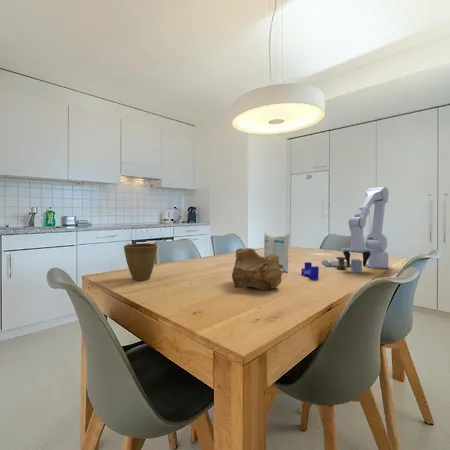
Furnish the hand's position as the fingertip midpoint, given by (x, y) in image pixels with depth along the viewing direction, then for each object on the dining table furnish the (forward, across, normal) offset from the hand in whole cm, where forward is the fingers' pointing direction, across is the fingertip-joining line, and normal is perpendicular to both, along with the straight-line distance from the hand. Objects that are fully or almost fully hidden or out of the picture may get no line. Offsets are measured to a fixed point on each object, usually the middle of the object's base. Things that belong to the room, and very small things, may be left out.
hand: (356, 266), depth 145 cm
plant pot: (+3, -103, -32) cm, 108 cm away
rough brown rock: (+3, -52, -37) cm, 64 cm away
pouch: (+3, -41, -1) cm, 41 cm away
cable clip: (+3, -25, -16) cm, 30 cm away
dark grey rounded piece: (+3, -6, +6) cm, 9 cm away
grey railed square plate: (+3, -6, +17) cm, 18 cm away
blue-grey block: (+3, 0, 0) cm, 3 cm away
